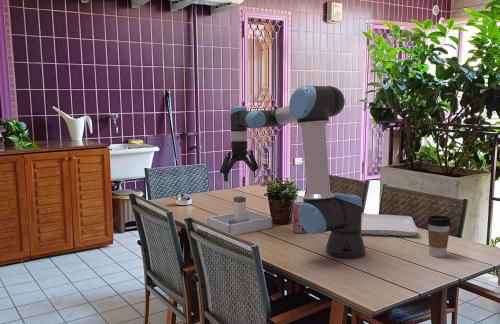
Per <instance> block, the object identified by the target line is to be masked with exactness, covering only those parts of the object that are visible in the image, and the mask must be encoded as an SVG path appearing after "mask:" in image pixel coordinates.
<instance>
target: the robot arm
mask: <svg viewBox="0 0 500 324" xmlns="http://www.w3.org/2000/svg"><path fill="white" fill-rule="evenodd" d="M345 103H346V99H345V96H344V93H343V92H342V90H340V89H339V88H337V86H332V85H305V86H299V87H297V88H296V89H295V90H294V91H293V93H292V94H291V95H290V100H289V105H285V106H282V107H280V108H276V109H270V110H269V109H266V110H262V109H261V110H248V109H247V106H246V105H239V106H238V105H236V106H235V105H234V106H231V107H230V112H229V116H230V118H229V120H230V124H229V125H230V140H231V141H230V149H231V151H225V156H224V160H223V162H222V164H221V167H220V169H219V173H221V174H223V182H224V183H225V184H224V185H225V187H224V188H225V189H228V190H230V189H231V174H230V172H231V170H232V169H233V166H235V164H236V163H237V162H244V163H245V164H246V165H247V167H248V168H249V169H250V170H249V171H248V173H249V174H248V175H249V177H248V179H249V180H248V181H249V186H255V178H256V172H257V171H258V170H259V168H260V167H259V164H258V162H257V160H256V158H255V156H254V150H253V149H248V145H249V144H248V141H247V140H248V129H253V130H254V129H261V128H280V127H285V126H287V125H289V124H291V123H296V124H297V125H298V127H300V128H301V132H302V133H301V135H302V147H303V159H304V173H305V184H306V185H305V186H306V193H305V194H304V196H303V197H302V199H303V200H302V202H303V203H304V204H302V205H301V206H300V207H299V209H298V219H299V222H300V224H301V226H302V227H303V228H304V230H305V231H307V233H309V234H311V235H317V234H324V233H328V232H330V233H329V237H328V241H327V243H326V246H325V252H326V254H327V255H330V256H331V257H333V258H334V257H335V258H339V259H358V258H361V257H364V256H365V255H366V245H364V240H363V234H361V225H362V214H363V200H362V198H361V197H360V196H359V195H355V194H352V193H344V192H342V193H341V192H334V193H333V192H332V191H331V187H330V186H331V185H330V174H329V173H330V172H329V161H328V146H327V131H326V126H327V125H328V124H329V122H330V118H331V117H336V116H337V115H339V114H340V113H341V112H342V111H343V110H344V107H345ZM247 149H248V150H247Z"/></svg>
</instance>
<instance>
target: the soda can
mask: <svg viewBox="0 0 500 324" xmlns="http://www.w3.org/2000/svg"><path fill="white" fill-rule="evenodd" d="M302 204H304V203H303V201H297V202H294V203H293V206H292V230H293V231H294V233H297V234H307V233H308V232H307V231H305V230H304V228H303V227H302V226H301V224H300V222H299V219H298V209H299V207H300V206H301V205H302Z"/></svg>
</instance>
